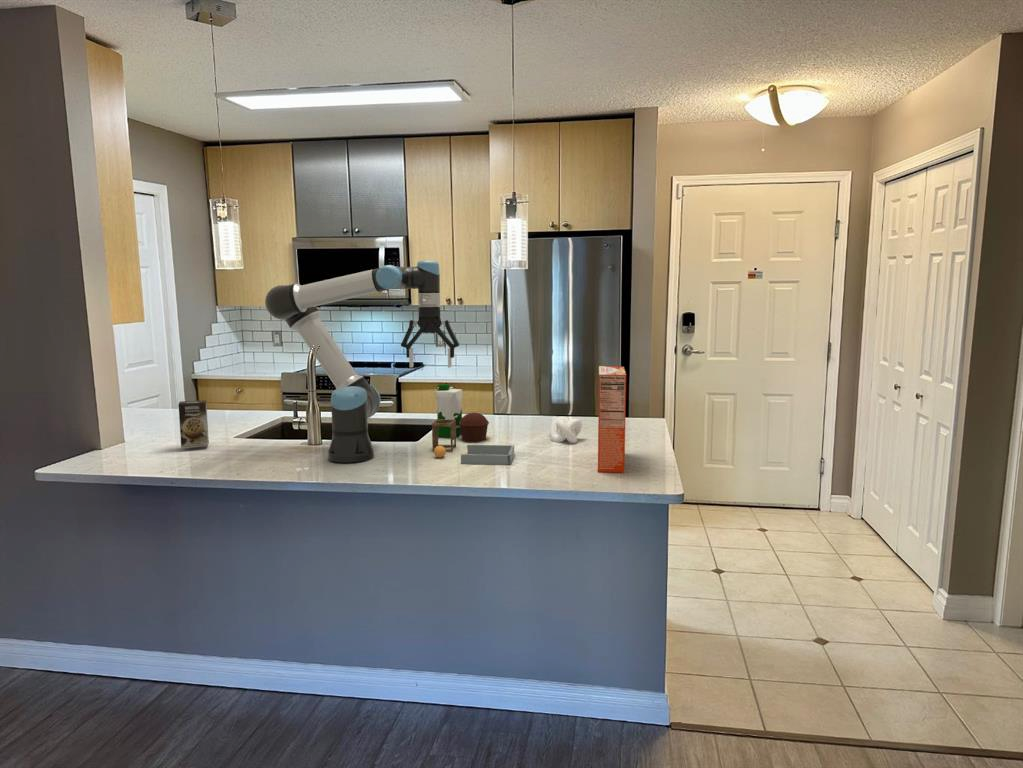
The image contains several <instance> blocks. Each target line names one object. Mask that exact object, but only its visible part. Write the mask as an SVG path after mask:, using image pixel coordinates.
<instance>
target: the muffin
mask: <svg viewBox="0 0 1023 768" xmlns="http://www.w3.org/2000/svg"><path fill="white" fill-rule="evenodd" d="M489 424H490V421H489V420H488V419H487V418H486V416H484V415H483V414H482V413H480V412H468V413H467V414H464V416H462V419H461V420H460V422H459V425H460V428H461V434H462V435H461V439H462V442H466V443H479V442H483V441H485V440H487V433H488V428H489V427H488V426H489Z"/></svg>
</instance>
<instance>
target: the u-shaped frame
mask: <svg viewBox="0 0 1023 768" xmlns="http://www.w3.org/2000/svg"><path fill="white" fill-rule="evenodd" d="M466 446H467V449H466V450H467V453H461V454H460V465H461V464H462V465H495V466H496V465H502V466H503V465H506V466H507V465H508V466H510V465H511V464H512V461H513V459H514V456H515V445H514V444H511V445H509V444H505V445H504V444H467V445H466Z"/></svg>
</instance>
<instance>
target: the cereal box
mask: <svg viewBox="0 0 1023 768" xmlns="http://www.w3.org/2000/svg"><path fill="white" fill-rule="evenodd" d="M626 400H627V372H626V369H625V366H622V365H621V366H620V365H619V366H617V365H616V366H613V365H612V366H611V365H610V366H609V365H607V366H606V365H604V366H603V365H599V366H598V420H597V421H598V424H597V427H598V431H597V432H598V435H597V438H598V439H597V472H598V473H599V472H600V473H625V467H626V466H625V465H626V463H625V461H626V460H625V459H626V458H625V457H626V456H625V455H626V413H627V411H626V406H627V405H626V404H627V401H626Z"/></svg>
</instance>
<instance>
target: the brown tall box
mask: <svg viewBox="0 0 1023 768" xmlns="http://www.w3.org/2000/svg"><path fill="white" fill-rule="evenodd" d="M178 416H179V417H178V418H179V420H178V421H179V432H180V433H179V434H180V435H179V437H180V448H181V449H185V448H186V449H187V448H197V447H208V446H209V444H210V443H209V442H210V441H209V424H208V407H207V400H188V401H186V400H185V401H179V402H178Z"/></svg>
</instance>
